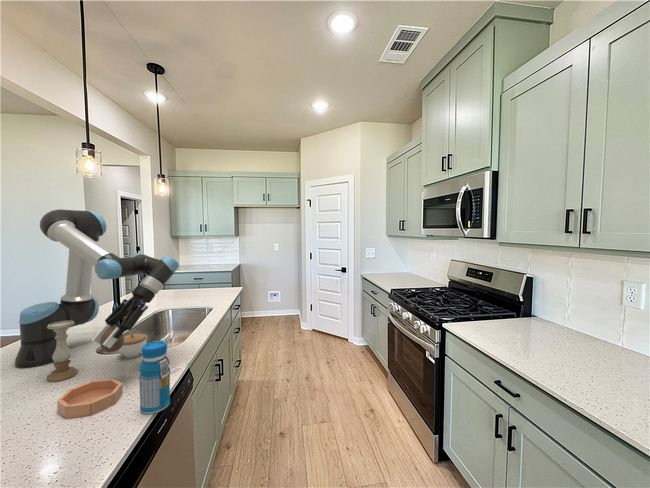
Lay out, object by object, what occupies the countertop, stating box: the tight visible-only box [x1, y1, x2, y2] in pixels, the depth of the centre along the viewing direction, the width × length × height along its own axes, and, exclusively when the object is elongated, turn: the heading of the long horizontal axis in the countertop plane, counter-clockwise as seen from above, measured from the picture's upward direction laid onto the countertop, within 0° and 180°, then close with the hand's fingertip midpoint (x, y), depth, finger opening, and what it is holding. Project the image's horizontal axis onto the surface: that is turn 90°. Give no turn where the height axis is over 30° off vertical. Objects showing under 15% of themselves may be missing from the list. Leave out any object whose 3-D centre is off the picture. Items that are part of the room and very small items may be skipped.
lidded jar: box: [118, 333, 147, 359], centre depth 126 cm, size 11×11×9 cm
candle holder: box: [46, 321, 79, 383], centre depth 107 cm, size 9×9×20 cm
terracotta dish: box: [56, 378, 123, 419], centre depth 91 cm, size 15×15×4 cm
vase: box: [99, 324, 125, 353], centre depth 102 cm, size 7×7×9 cm
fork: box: [170, 358, 191, 374], centre depth 110 cm, size 3×20×2 cm, turn 162°
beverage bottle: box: [138, 340, 171, 415], centre depth 89 cm, size 8×8×20 cm
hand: (101, 344), depth 99 cm, fingers closed on vase, 7 cm apart
